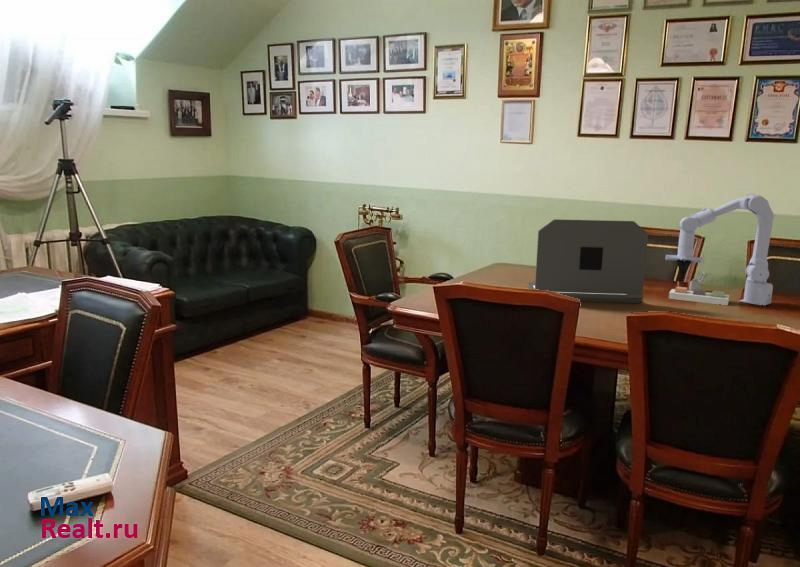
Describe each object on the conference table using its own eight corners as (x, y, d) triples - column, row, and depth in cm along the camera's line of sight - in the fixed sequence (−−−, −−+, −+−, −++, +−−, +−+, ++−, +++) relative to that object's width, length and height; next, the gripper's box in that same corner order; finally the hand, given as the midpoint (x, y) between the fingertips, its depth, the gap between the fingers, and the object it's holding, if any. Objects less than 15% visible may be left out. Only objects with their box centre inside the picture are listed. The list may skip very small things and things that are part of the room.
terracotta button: (686, 294, 260) (687, 287, 260) (685, 296, 257) (686, 289, 256) (675, 293, 262) (676, 286, 262) (674, 295, 259) (675, 288, 258)
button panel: (728, 301, 255) (729, 295, 254) (727, 305, 247) (728, 299, 246) (671, 294, 265) (672, 288, 265) (668, 298, 258) (669, 292, 257)
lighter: (691, 291, 273) (693, 273, 271) (688, 290, 274) (690, 272, 273) (705, 290, 274) (707, 273, 272) (702, 289, 276) (704, 272, 274)
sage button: (723, 298, 253) (724, 291, 253) (723, 300, 250) (723, 293, 249) (712, 297, 255) (713, 290, 255) (711, 299, 252) (712, 292, 251)
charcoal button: (704, 296, 257) (705, 289, 256) (704, 298, 253) (704, 291, 253) (693, 295, 259) (694, 288, 258) (692, 297, 255) (693, 290, 255)
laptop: (621, 288, 278) (628, 214, 271) (642, 305, 247) (650, 221, 241) (525, 285, 282) (529, 212, 275) (533, 301, 251) (538, 219, 244)
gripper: (665, 245, 255) (662, 277, 258) (704, 248, 248) (700, 281, 251) (668, 243, 261) (664, 275, 264) (705, 246, 254) (702, 278, 257)
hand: (682, 278), depth 258 cm, fingers closed
